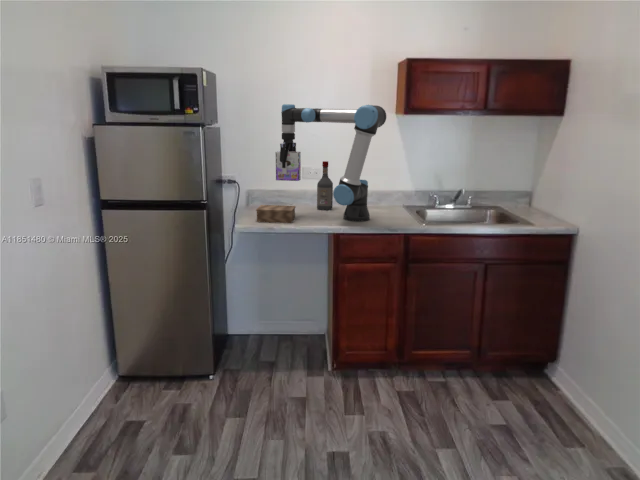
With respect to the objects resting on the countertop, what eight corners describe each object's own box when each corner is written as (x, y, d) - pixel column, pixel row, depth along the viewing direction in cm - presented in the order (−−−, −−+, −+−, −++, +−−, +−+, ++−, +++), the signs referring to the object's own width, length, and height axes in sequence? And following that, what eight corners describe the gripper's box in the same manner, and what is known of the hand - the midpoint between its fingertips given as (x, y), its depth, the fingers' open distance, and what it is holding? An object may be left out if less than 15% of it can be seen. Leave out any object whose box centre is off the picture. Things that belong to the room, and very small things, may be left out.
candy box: (300, 179, 282) (301, 151, 278) (299, 181, 277) (299, 152, 272) (277, 179, 284) (277, 150, 280) (275, 180, 279) (275, 151, 274)
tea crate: (295, 218, 280) (295, 205, 278) (291, 223, 267) (291, 210, 265) (261, 217, 282) (261, 204, 280) (256, 222, 268) (256, 209, 267)
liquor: (330, 210, 302) (331, 162, 295) (316, 210, 304) (316, 162, 296) (332, 208, 311) (333, 161, 304) (318, 207, 313) (319, 160, 305)
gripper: (291, 131, 284) (291, 171, 290) (272, 132, 267) (273, 174, 272) (302, 132, 280) (302, 171, 286) (284, 133, 263) (284, 175, 269)
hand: (288, 173), depth 279 cm, fingers closed on candy box, 7 cm apart
